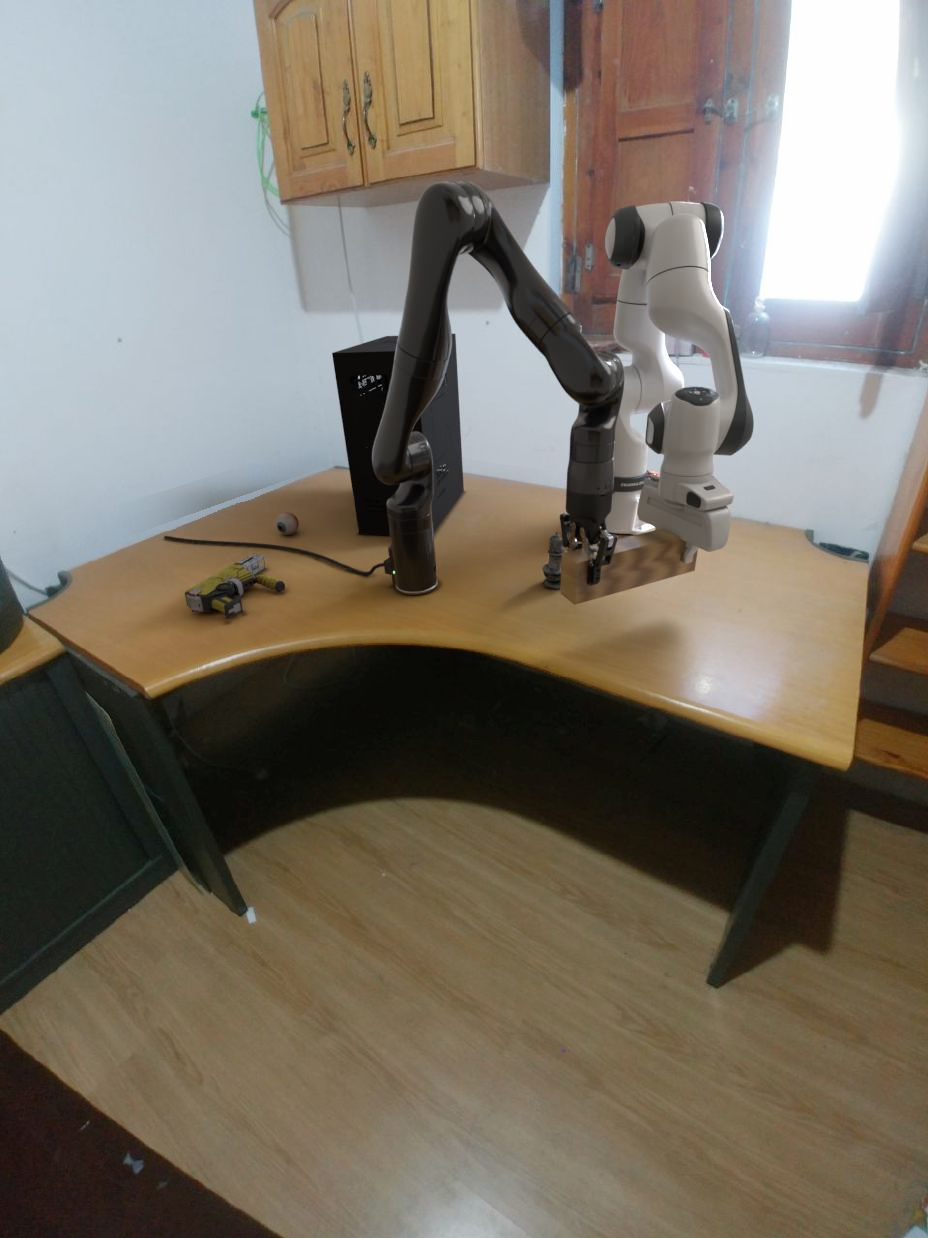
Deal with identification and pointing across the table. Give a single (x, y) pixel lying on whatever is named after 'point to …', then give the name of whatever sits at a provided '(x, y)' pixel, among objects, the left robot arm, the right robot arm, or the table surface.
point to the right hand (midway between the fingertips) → (674, 556)
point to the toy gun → (230, 587)
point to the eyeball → (287, 523)
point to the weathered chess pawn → (554, 562)
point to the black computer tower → (365, 419)
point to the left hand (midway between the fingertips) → (584, 577)
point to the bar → (625, 566)
